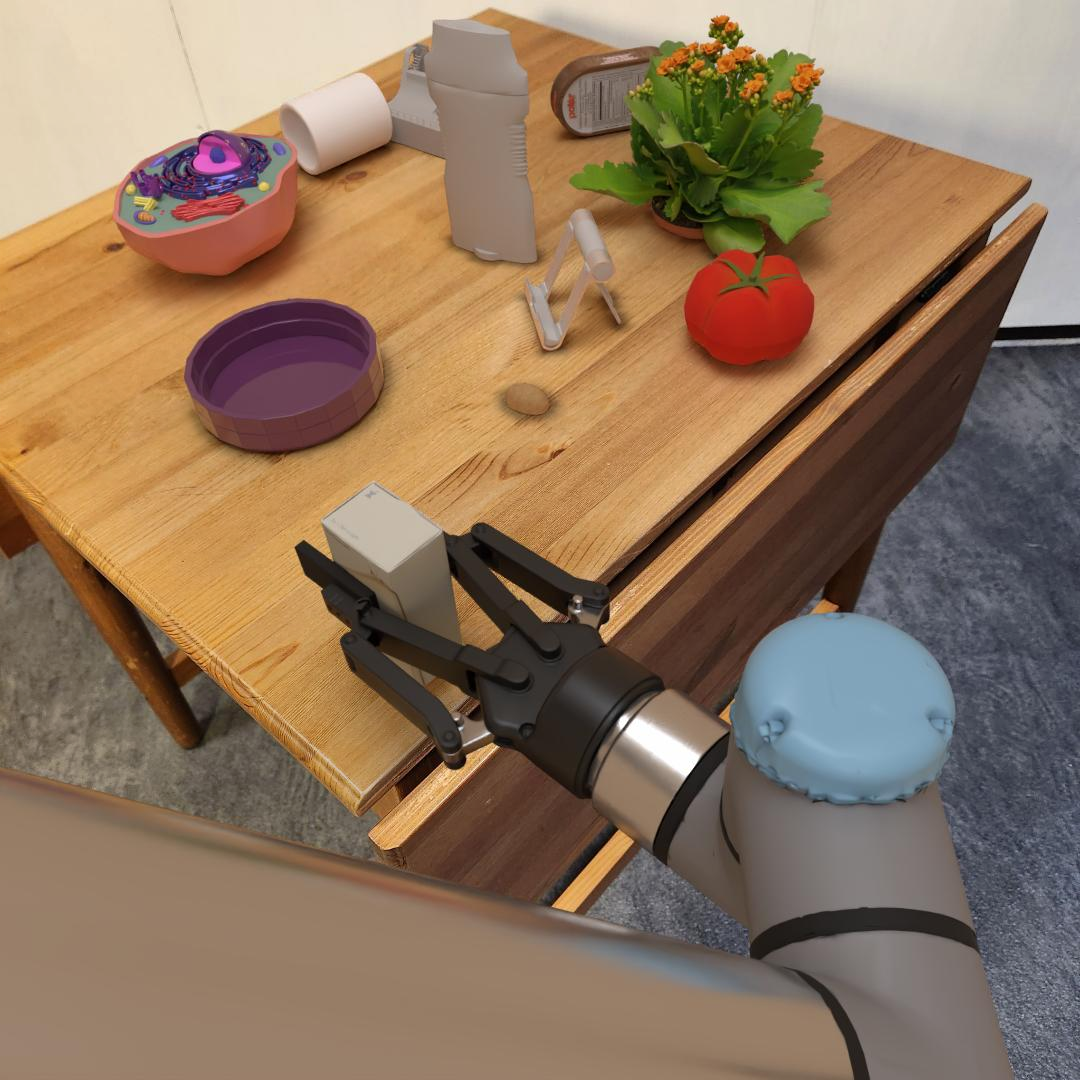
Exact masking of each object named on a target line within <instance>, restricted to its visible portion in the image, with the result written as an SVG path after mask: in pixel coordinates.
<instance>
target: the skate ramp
mask: <svg viewBox="0 0 1080 1080" xmlns="http://www.w3.org/2000/svg"><path fill="white" fill-rule="evenodd" d="M429 51H430V47H429V45H426V44H423V43H420V42H416V43H414V44H413V45H410V46H409V47H406V49H405V51H404V52H403V59H402V69H401V76H400V77H401V78H400V84H399V88H398V91H397V93H396V95H395V96H394V97H393V98H392V99H391V100H390V101H388V102H387V104H388V107H389V110H390V114H391V118H392V136H391V139H390V141H391V142H395V143H398V144H400V145H404V146H405V147H406V146H407V147H409V148H412V149H415V150H418V151H420V152H421V151H422V152H424V153H427V154H430V155H433V156H436V157H439V158H442V159H445V158H444V157H443V155H444V153H443V148H442V146H443V144H442V140H441V136H440V134H441V132H440V131H439V130H440V126H439V123H440V122H439V121H438V120H437V119H438V116H437V114H436V110H435V109H436V108H437V106H436V104H435V103H434V101H433V100H432V98H431V97H430V94H429V90H428V85H427V79H426V71H425V64H424V56H425V55H426V54H427V53H428V52H429ZM412 56H413V58H412V59H413V60H412V63H411V57H412ZM410 63H411V64H410Z"/></svg>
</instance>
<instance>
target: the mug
mask: <svg viewBox="0 0 1080 1080" xmlns="http://www.w3.org/2000/svg"><path fill="white" fill-rule="evenodd" d="M387 103H388V102H387V100H386V98H385V96H384V94H383V92H382V90H381V88H380V87H379V86H378V84H377V83H376V82H375V81H374V80H373V78H371V77H370V76H369V75H368V74H366V73H363V72H355V73H352V74H350V75H347V76H346V77H342V78H340V79H338V80H335V81H333V82H331V83H328V84H326V85H323V86H321V87H317V88H316V89H313V90H311V91H308V92H306V93H303V94H301V95H299V96H296V97H293V98H291V99H288V100H285V101H283V102H282V103H281V105H280V107H279V109H278V110H279V111H278V121H279V127H280V130H281V134H282V136H283V137H282V138H283V139H286V140H287V141H289V142H291V143H292V144H293V145H294V146H295V148H296V150H297V154H298V162H297V165H299V166H300V168H302V169H303V170H304V171H305V172H306V173H307V174H310V175H313V176H317V175H320V174H322V173H324V172H326V171H329V170H331V169H333V168H335V167H338V166H341V165H342V164H344V163H347V162H349V161H351V160H353V159H355V158H358V157H360V156H362V155H365V154H367V153H369V152H371V151H373V150H376V149H378V148H380V147H382V146H384V145H387V144H388V143H389V142H390V141H391V140H390V139H391V136H392V118H391V114H390V110H389V107H388V104H387Z"/></svg>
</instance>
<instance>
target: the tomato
mask: <svg viewBox="0 0 1080 1080" xmlns="http://www.w3.org/2000/svg"><path fill="white" fill-rule="evenodd" d="M765 253H766V251H765V250H764V251H763V252H762V253H761V254H760V255H759V256H758V258H756V256H755V253H748V252H745V251H742V250H739V249H734V250H729V251H724V252H723V253H722V254H720V255H719V256H716V258H715V259H714V260H713V262H711V263H708V264H707V265H705V266H704V267H703V268H701V269H699V270H698V271H697V272H696V274H695V276H694V277H693V279H692V281H691V283H690V286H689V288H688V291H686V292H687V293H686V296H685V300H684V305H683V313H684V320H685V324H686V329H687V332H688V333H689V336H690V337H691V340H693V341H695V342H696V343H698V344H699V345H700V346H702V347H703V348H704V349H705V350H706V351H707V352H708V353H709V355H710V356H712V358H715V359H716V360H719V361H721V362H725V363H727V364H729V365H736V366H743V367H747V366H750V365H753V364H755V363H757V362H760V361H763V360H766V361H775V360H780V359H781V360H782V358H784V357H787V356H788V355H790V354H791V353H793V352H795V351H796V349H797V348H798V347H799V346H800V345H801V343H802V342H803V341H804V339H805V338H806V337H807V335H808V334H809V333H810V332H809V331H810V329H811V327H812V324H813V320H814V313H815V295H814V293H813V292H812V290H811V288H810V287H809V286H808V284H807V283H805V281H804V279H803V276H802V274H801V273H800V270H799V268H798V265H797V264H796V263H795V262H794V261H793V260H791V259H790V258H789V257H785V256H784V255H781V254H775V255H767V256H765Z"/></svg>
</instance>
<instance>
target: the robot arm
mask: <svg viewBox="0 0 1080 1080" xmlns="http://www.w3.org/2000/svg"><path fill="white" fill-rule="evenodd" d="M443 534H444V540H445V546H446V552H447V558H448V563H449V569H450V575H451V580H453V579H454V580H455V581H456V582H457V584H458V585H459V586H460V587H461V588H462V589H463V590H464V591H465V592H466V594H467V596H469V597H470V598H471V599H472V600H473V602H474V603H475V604H476V605H477V606H478V608H480V610H481V611H482V612H483V613H484V614H485V615H486V617H488V618H489V620H490V621H491V622H492V623H493V624H494V625H495V626H496V627H497V629H498V630H499V631H500V632H501V633H502V634H503V635H502V637H501V639H500V640H499V641H498V642H497V643H495V644H493V645H492V646H490V647H488V648H487V649H483V648H480V647H478V646H476V645H474V644H471V643H465V644H463V645H460V644H458V643H456V642H453V641H451V640H449V639H446V638H444V637H442V636H439V635H437V634H435V633H433V632H430V631H428V630H426V629H423V628H421V627H419V626H416V625H414V624H412V623H410V622H407V621H405V620H403V619H400V618H398V617H396V616H393V615H391V614H389V613H387V612H384V611H382V610H380V608H379V604H378V601H377V597H376V594H375V592H374V591H372V590H371V589H370V588H369V587H367V586H366V585H365V584H363V583H362V582H360V581H359V580H358V579H356V578H355V577H354V576H352V575H351V574H350V573H348V572H347V571H346V570H344V569H343V568H342V567H340V566H339V565H337V564H336V563H335V562H334V561H333V559H331V558H330V557H328V556H327V555H325V554H324V553H322V552H321V551H320V550H319V549H317V548H316V547H315V546H313V544H310V543H309V542H308V541H306V540H305V539H303V540H301V541H300V542H299V543H297V544H296V545H295V546H293V548H294V550H295V553H296V556H297V559H298V561H299V563H300V566H301V568H302V571H303V574H304V576H305V577H307V578H308V580H311V582H313V583H314V584H316V585H317V586H318V587H320V588H321V590H320V594H321V597H322V599H323V602H324V605H325V607H326V609H327V611H328V613H329V614H331V615H332V616H333V617H335V618H336V619H337V620H338V621H340V622H341V623H342V624H343V625H345V626H346V627H347V628H349V631H347V632H346V633H344V634H343V635H342V636H341V637H340V639H339V645H340V648H341V651H342V653H343V655H344V658H345V661H346V663H347V667H348V669H349V671H350V672H351V673H353V674H354V675H355V676H356V677H357V678H358V679H359V680H360V681H361V682H363V683H365V685H367V687H369V688H370V689H371V690H373V691H374V692H375V693H376V694H377V695H378V696H379V697H381V698H382V699H383V700H384V701H386V703H388V705H390V706H391V707H393V709H395V710H396V711H397V712H398V713H399V714H400V715H402V716H403V717H404V718H405V719H407V721H408V722H410V723H411V724H413V725H414V726H415V727H416V728H417V729H419V731H420V732H421V733H423V734H424V735H425V736H427V738H429V739H430V740H431V741H432V742H433V744H434V745H435V748H436V750H437V752H438V754H439V756H440V758H441V760H442V762H443V764H444V766H445V767H446V768H447V769H449V770H450V771H458V770H461V769H462V768H464V767H465V766H466V764H467V755H468V756H469V755H470V754H472V753H474V752H476V751H478V750H481V749H483V748H485V747H487V746H489V745H491V744H493V745H495V746H497V747H498V748H503V749H509V750H513V751H516V752H518V753H520V754H521V755H523V756H524V758H526V759H527V760H528V761H529V762H531V763H532V764H533V765H534V766H536V768H538V769H539V770H541V772H543V773H545V774H546V775H547V776H548V777H550V778H551V779H553V780H554V781H555V782H556V783H557V784H559V785H560V786H562V787H563V788H564V789H565V790H567V791H568V792H569V793H571V794H572V795H573V796H574V797H575V798H577V799H579V800H591V803H592V809H593V810H594V811H595V812H596V813H597V814H598V815H599V816H601V817H602V818H603V819H605V820H606V821H607V822H609V823H610V824H611V825H613V826H614V827H615V828H617V830H619V831H620V832H622V833H623V834H624V835H625V836H627V837H628V838H629V839H631V840H632V841H633V842H634V843H635V844H637V845H638V846H639V847H641V849H643V850H644V851H646V852H647V853H648V854H650V855H651V856H652V857H655V858H656V860H658V861H659V862H660V863H661V864H663V865H664V866H666V867H667V868H669V869H670V870H671V871H673V872H674V873H675V874H676V875H678V876H679V877H680V878H682V880H684V881H685V882H687V883H688V884H689V885H690V886H691V887H693V888H695V889H696V890H697V891H698V892H699V893H700V894H702V896H704V897H706V898H707V899H708V900H709V901H711V902H712V903H713V904H714V905H715V906H717V907H718V908H719V909H721V910H722V911H723V912H724V913H726V914H727V915H728V916H730V917H731V918H732V919H733V920H735V921H736V922H737V923H738V924H740V925H741V926H742V927H743V928H745V929H746V930H747V934H748V943H749V951H748V952H749V956H747V955H746V956H745V955H743V954H742V955H741V954H738V953H734V952H730V951H726V950H724V949H723V950H722V949H718V948H715V947H711V946H706V945H702V944H698V943H695V942H691V941H687V940H684V939H680V938H675V937H672V936H667V935H663V934H659V933H656V932H651V931H648V930H644V929H640V928H636V927H632V926H629V925H623V924H620V923H618V922H612V921H608V920H605V919H601V918H597V917H593V916H590V915H585V914H583V913H582V914H581V913H578V912H574V911H570V910H567V909H566V910H565V909H561V908H558V907H554V906H550V905H547V904H542V903H539V902H535V901H531V900H527V899H523V898H518V897H515V896H512V895H511V896H510V895H507V894H503V893H500V892H495V891H491V890H487V889H484V888H479V887H475V886H472V885H467V884H464V883H460V882H456V881H452V880H448V879H444V878H441V877H437V876H432V875H428V874H425V873H421V872H417V871H413V870H409V869H405V868H401V867H398V866H394V865H390V864H385V863H381V862H378V861H374V860H370V859H367V858H362V857H358V856H354V855H350V854H347V853H341V852H338V851H334V850H331V849H327V848H323V847H319V846H315V845H311V844H308V843H304V842H299V841H296V840H293V839H288V838H284V837H280V836H276V835H274V834H273V835H272V834H268V833H265V832H261V831H256V830H253V829H250V828H249V829H248V828H245V827H241V826H237V825H233V824H229V823H225V822H222V821H218V820H214V819H210V818H206V817H202V816H198V815H194V814H190V813H186V812H182V811H177V810H174V809H171V808H167V807H163V806H160V805H155V804H151V803H147V802H143V801H139V800H135V799H131V798H129V797H128V798H127V797H124V796H120V795H116V794H112V793H108V792H105V791H100V790H96V789H93V788H88V787H85V786H81V785H77V784H72V783H68V782H65V781H61V780H57V779H53V778H49V777H46V776H41V775H38V774H33V773H30V772H26V771H22V770H18V769H14V768H10V767H6V766H2V765H0V1080H1015V1077H1014V1073H1013V1070H1012V1066H1011V1062H1010V1058H1009V1055H1008V1052H1007V1048H1006V1044H1005V1040H1004V1035H1003V1033H1002V1030H1001V1025H1000V1022H999V1019H998V1015H997V1011H996V1008H995V1004H994V1000H993V997H992V993H991V989H990V985H989V982H988V979H987V974H986V972H985V968H984V964H983V960H982V954H981V950H980V947H979V943H978V940H977V939H978V936H977V932H976V928H975V925H974V920H973V917H972V913H971V909H970V905H969V901H968V897H967V893H966V890H965V885H964V882H963V878H962V874H961V870H960V866H959V861H958V858H957V854H956V850H955V846H954V841H953V839H952V834H951V831H950V827H949V824H948V820H947V816H946V812H945V808H944V805H943V801H942V797H941V793H940V789H939V783H938V781H939V780H938V779H939V778H940V777H941V775H942V773H943V768H944V767H945V765H946V764H947V762H948V760H950V759H949V758H950V757H951V754H950V748H951V745H952V737H953V729H954V727H955V723H956V714H957V713H956V712H957V711H956V703H955V702H956V701H955V698H954V697H955V696H954V692H953V689H952V687H951V684H950V681H949V679H948V676H947V675H946V673H945V671H944V670H943V668H942V666H941V665H940V664H939V662H938V660H937V659H936V658H935V656H934V655H933V654H932V653H931V652H930V651H929V650H928V649H927V647H925V646H924V645H923V644H922V643H920V642H919V640H917V639H916V638H914V637H913V636H911V634H908V633H907V632H905V631H903V630H902V629H900V628H899V627H896V626H895V625H893V624H891V623H889V622H886V621H884V620H881V619H879V618H876V617H873V616H869V615H866V614H861V613H857V612H856V613H855V612H834V611H828V612H821V613H820V612H815V613H809V614H805V615H801V616H799V617H796V618H793V619H791V620H788V621H785V622H784V623H782V624H780V625H778V626H777V627H775V628H774V629H772V630H771V631H770V632H768V633H767V634H766V635H765V636H764V637H763V638H762V639H761V640H759V642H758V643H757V644H756V646H755V647H754V648H753V650H752V651H751V653H750V655H749V656H748V659H747V661H746V663H745V665H744V669H743V672H742V675H741V678H740V682H739V684H738V685H739V686H738V687H737V692H734V695H733V698H734V701H733V702H732V703H730V705H729V711H728V719H729V722H730V723H729V722H728V721H726V720H725V719H723V718H722V717H720V716H719V715H718V714H716V713H714V712H713V711H711V709H709V708H707V707H706V706H704V705H703V704H702V703H700V702H698V701H697V700H696V699H694V698H693V697H692V696H690V695H688V694H687V693H685V692H684V691H683V690H681V689H679V688H677V687H673V688H667V689H666V686H665V683H664V680H663V678H662V677H661V676H659V675H658V674H656V673H655V672H654V671H651V670H650V669H649V668H647V667H645V666H644V665H643V664H641V663H639V662H638V661H636V660H635V659H634V658H632V657H631V656H629V655H628V654H626V653H625V652H623V651H621V650H620V649H619V648H616V647H612V646H609V645H607V644H606V642H605V641H604V639H603V637H602V635H601V633H600V630H601V628H602V626H603V625H606V624H607V623H609V621H610V620H611V594H610V592H611V591H610V589H609V587H608V586H607V585H606V584H603V583H601V582H596V581H593V580H589V579H585V578H580V577H577V576H574V575H572V574H571V573H569V572H567V571H565V569H563V568H561V567H559V566H558V565H556V564H554V563H553V562H551V561H549V560H548V559H546V558H544V557H543V556H541V555H539V554H538V553H536V552H534V551H533V550H531V549H530V548H528V547H526V546H524V545H523V544H521V543H520V542H518V541H517V540H514V539H513V538H512V537H511V536H508V535H506V534H505V533H503V532H502V531H500V530H498V529H497V528H495V527H493V525H490V524H488V523H486V522H484V521H483V522H482V521H480V522H476V523H474V524H473V525H472V526H471V527H470V531H469V532H466V533H464V534H462V535H457V534H450V533H448V532H446V531H445V530H443ZM494 572H495V573H496V574H498V575H499V576H500V577H502V578H503V579H505V580H507V581H509V582H510V583H512V584H514V585H515V586H516V587H518V588H519V589H521V590H523V591H524V592H526V593H528V594H529V595H530V596H532V597H534V598H536V599H537V600H539V601H540V602H542V603H543V604H545V605H546V606H548V607H550V608H551V609H553V610H554V611H556V612H557V613H559V614H561V615H563V616H565V617H568V620H569V621H570V622H559V621H558V622H557V621H543V620H542V619H541V618H540V617H539V616H538V614H536V613H535V612H534V610H533V609H532V608H531V607H530V606H529V605H528V604H527V603H526V602H525V601H524V600H523V599H518V598H517V597H516V596H515V594H514V593H512V591H511V590H510V589H509V588H508V586H506V585H505V584H504V583H503V582H502V580H500V578H499V577H498V576H497V575H496V574H495V573H494ZM383 653H385V654H387V655H389V656H391V657H393V658H396V659H398V660H400V661H402V662H404V663H407V664H409V665H411V666H413V667H416V668H418V669H420V670H422V671H424V672H427V673H429V674H431V675H433V676H435V678H437V679H440V680H442V681H444V682H445V683H448V684H451V685H453V686H455V687H457V688H458V689H459V690H460V691H461V692H462V693H463V694H464V695H466V696H467V697H470V698H472V699H475V700H476V701H478V703H479V706H480V712H481V716H482V719H480V720H472V719H470V718H469V716H467V715H466V714H465V713H461V711H459V710H455V711H454V710H453V711H452V712H450V710H449V709H448V708H447V706H446V705H445V704H444V702H443V701H441V699H439V698H438V697H437V696H436V695H435V694H434V693H432V692H431V691H430V690H428V689H427V688H426V686H422V685H421V684H420V683H419V682H417V681H416V680H415V679H414V678H413V677H411V676H410V675H409V674H408V673H406V672H405V671H404V670H403V669H402V668H400V667H399V666H398V665H397V664H395V663H394V662H393V661H392V660H391V659H389V658H388V657H387V656H386V655H384V654H383Z"/></svg>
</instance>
